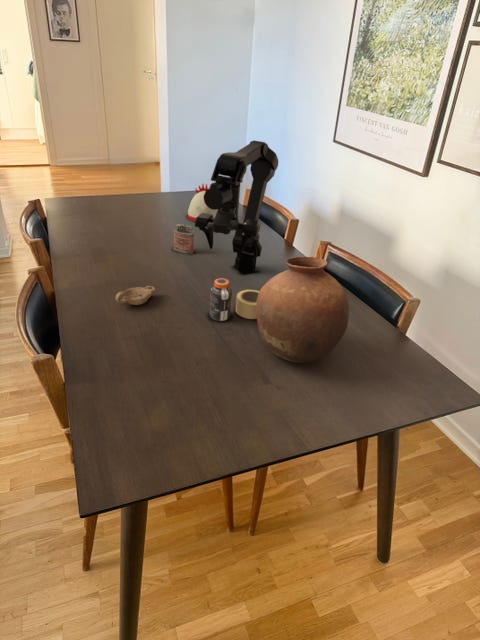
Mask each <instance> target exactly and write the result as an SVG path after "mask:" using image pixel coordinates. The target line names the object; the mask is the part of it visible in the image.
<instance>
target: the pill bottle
mask: <svg viewBox="0 0 480 640" xmlns="http://www.w3.org/2000/svg"><path fill="white" fill-rule="evenodd" d="M232 294H233V291H232V287H230V281H229V280H228V279H227V278H222V277H221V278H220V277H219V278H216V279H215V280H214V284H213V286H211V288H210V297H209V317H210V318H211V319H212V320H214V321H218V322H224V321H226V320H228V319H230V317H231V307H232Z"/></svg>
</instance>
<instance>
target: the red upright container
mask: <svg viewBox="0 0 480 640" xmlns="http://www.w3.org/2000/svg"><path fill="white" fill-rule="evenodd" d="M194 236H195V232H194V231H193V227H192V226H190V225H186V224H185V223H182V224H179V223H176V228H174V229H173V251H176V252H179V253H181V254H188V255H192V254H195V253H194V252H195V251H194Z"/></svg>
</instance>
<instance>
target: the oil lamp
mask: <svg viewBox="0 0 480 640" xmlns="http://www.w3.org/2000/svg"><path fill="white" fill-rule="evenodd" d="M155 292H156V288H155V287H154V286H153V285H146V286H145V287H141V286H138V287H130V288H129V287H128V288H126V289H124V291H119V292H117V293H116V295H115V301H116V302H117V303H118V304H125V303H127V304H128V305H131V306H139V305H143V304H145V303H146V302H147V301H148V300H149V299H150V298H151V296H152V295H153V294H154V293H155ZM122 295H123V296H122ZM121 296H122V299H120V297H121Z"/></svg>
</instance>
